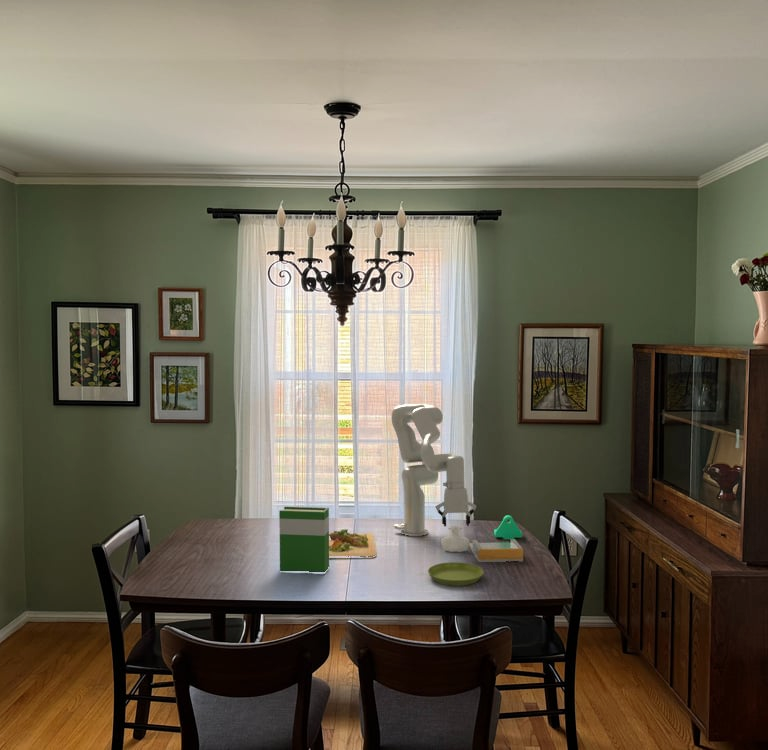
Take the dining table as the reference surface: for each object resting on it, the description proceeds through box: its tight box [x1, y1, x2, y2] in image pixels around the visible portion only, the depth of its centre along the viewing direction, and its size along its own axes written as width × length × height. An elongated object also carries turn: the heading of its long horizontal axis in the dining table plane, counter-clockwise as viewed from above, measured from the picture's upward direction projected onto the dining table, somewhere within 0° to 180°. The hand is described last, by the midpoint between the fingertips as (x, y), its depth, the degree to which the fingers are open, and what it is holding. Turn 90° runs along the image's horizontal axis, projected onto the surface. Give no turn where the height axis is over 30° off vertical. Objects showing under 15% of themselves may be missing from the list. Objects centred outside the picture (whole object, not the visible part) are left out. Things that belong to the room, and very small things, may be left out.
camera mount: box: [493, 514, 523, 540], centre depth 314 cm, size 12×8×10 cm, turn 85°
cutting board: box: [329, 528, 377, 557], centre depth 300 cm, size 35×23×8 cm
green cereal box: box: [278, 506, 330, 572], centre depth 267 cm, size 18×7×24 cm, turn 82°
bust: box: [440, 525, 470, 553], centre depth 294 cm, size 12×8×11 cm
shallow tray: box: [469, 538, 524, 563], centre depth 290 cm, size 18×24×5 cm
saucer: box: [427, 561, 484, 587], centre depth 258 cm, size 21×21×3 cm
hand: (456, 525), depth 293 cm, fingers open, 9 cm apart
